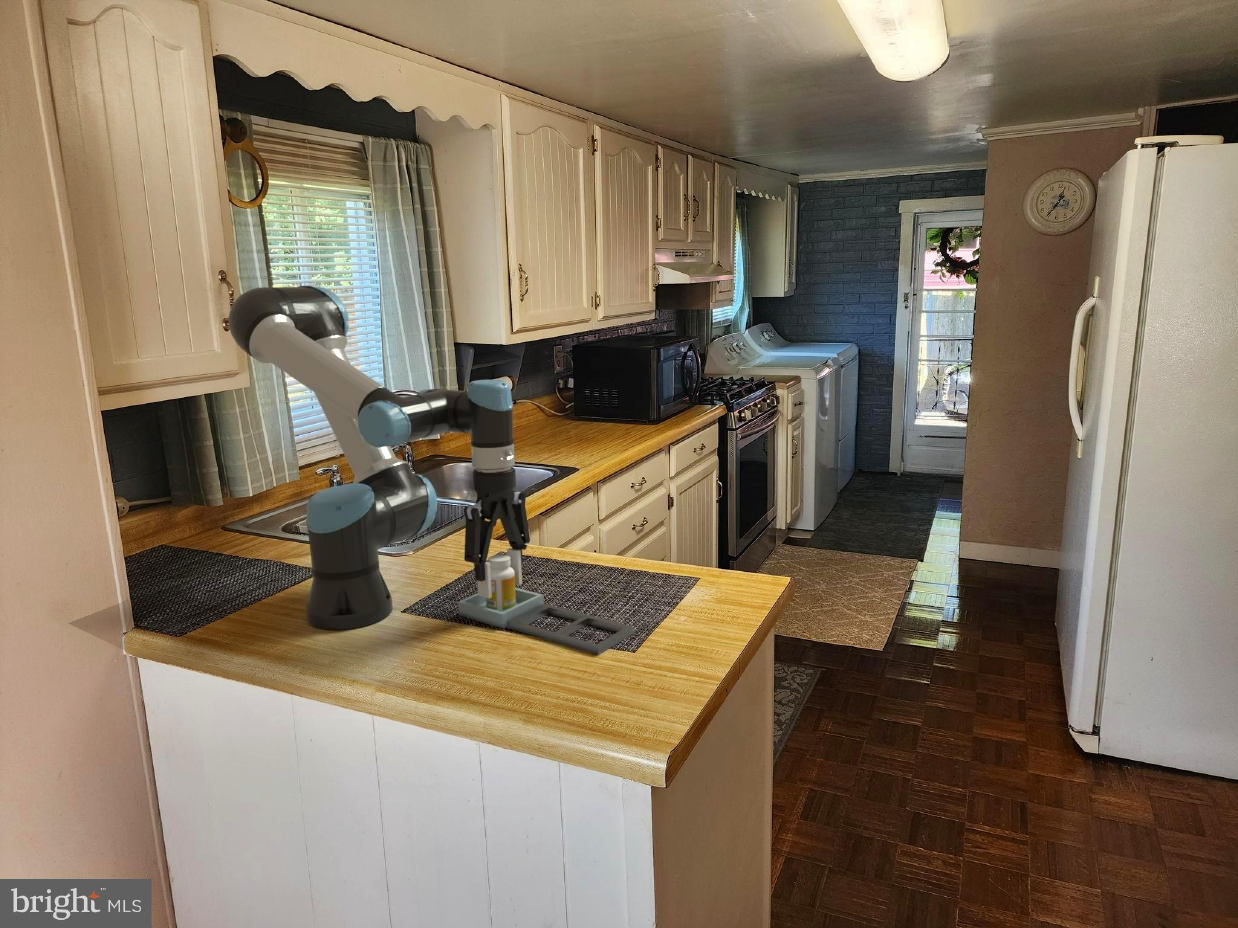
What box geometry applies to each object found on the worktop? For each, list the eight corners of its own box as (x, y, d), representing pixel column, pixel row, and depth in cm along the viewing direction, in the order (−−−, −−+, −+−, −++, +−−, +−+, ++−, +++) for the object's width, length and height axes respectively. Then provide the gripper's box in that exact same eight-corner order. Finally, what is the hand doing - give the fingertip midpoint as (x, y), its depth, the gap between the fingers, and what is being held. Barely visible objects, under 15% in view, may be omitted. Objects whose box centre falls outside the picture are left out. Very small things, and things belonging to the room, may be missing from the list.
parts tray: (503, 628, 148) (502, 614, 148) (458, 615, 155) (458, 601, 154) (543, 607, 157) (543, 594, 156) (500, 596, 163) (499, 583, 163)
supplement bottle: (517, 602, 158) (515, 552, 156) (514, 613, 153) (512, 562, 151) (488, 603, 158) (486, 553, 156) (484, 613, 153) (482, 562, 151)
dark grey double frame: (598, 654, 137) (598, 647, 137) (507, 627, 148) (506, 621, 148) (633, 633, 145) (633, 626, 145) (544, 609, 156) (544, 603, 156)
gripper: (467, 481, 140) (475, 611, 145) (547, 459, 156) (551, 577, 161) (436, 476, 144) (445, 602, 149) (516, 455, 160) (522, 569, 165)
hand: (500, 589), depth 155 cm, fingers open, 7 cm apart
